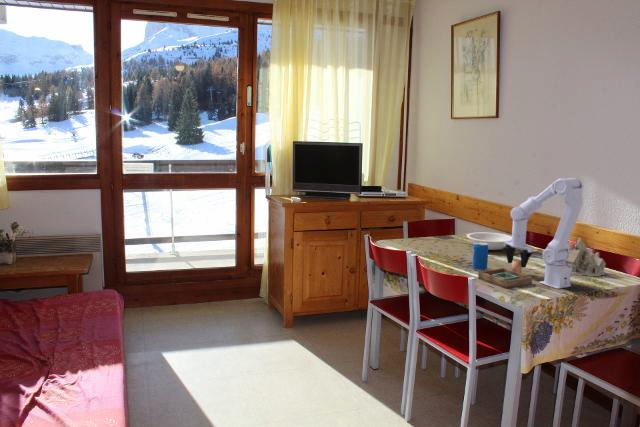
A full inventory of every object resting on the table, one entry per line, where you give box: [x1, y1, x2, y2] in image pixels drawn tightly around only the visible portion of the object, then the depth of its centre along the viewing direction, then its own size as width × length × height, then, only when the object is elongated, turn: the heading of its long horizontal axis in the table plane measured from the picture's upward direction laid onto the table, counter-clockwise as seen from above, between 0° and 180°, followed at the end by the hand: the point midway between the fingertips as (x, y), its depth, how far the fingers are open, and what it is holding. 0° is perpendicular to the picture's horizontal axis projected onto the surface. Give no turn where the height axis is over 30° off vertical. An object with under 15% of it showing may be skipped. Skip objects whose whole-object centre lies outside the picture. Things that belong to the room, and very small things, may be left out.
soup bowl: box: [466, 231, 512, 251], centre depth 290 cm, size 24×24×7 cm
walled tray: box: [477, 267, 533, 290], centre depth 231 cm, size 16×14×3 cm
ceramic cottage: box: [565, 237, 607, 277], centre depth 245 cm, size 16×16×15 cm
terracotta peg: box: [511, 259, 522, 274], centre depth 242 cm, size 4×4×6 cm
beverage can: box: [471, 242, 489, 272], centre depth 249 cm, size 6×6×12 cm
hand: (516, 265), depth 242 cm, fingers open, 7 cm apart
